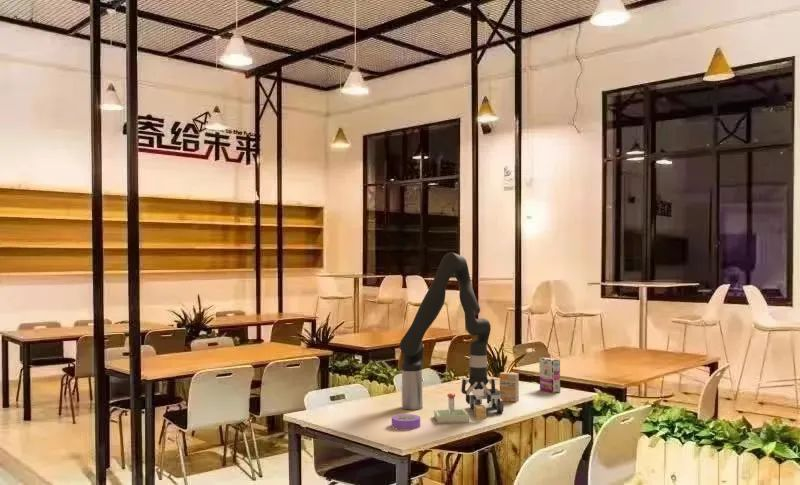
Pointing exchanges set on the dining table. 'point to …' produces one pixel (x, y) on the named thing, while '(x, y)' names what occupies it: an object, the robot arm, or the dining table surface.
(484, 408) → the block
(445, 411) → the tray
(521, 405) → the dining table surface
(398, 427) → the masking tape
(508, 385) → the supplement box
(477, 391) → the trolley
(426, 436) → the dining table surface
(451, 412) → the pin
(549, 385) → the candy bar box
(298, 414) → the dining table surface
